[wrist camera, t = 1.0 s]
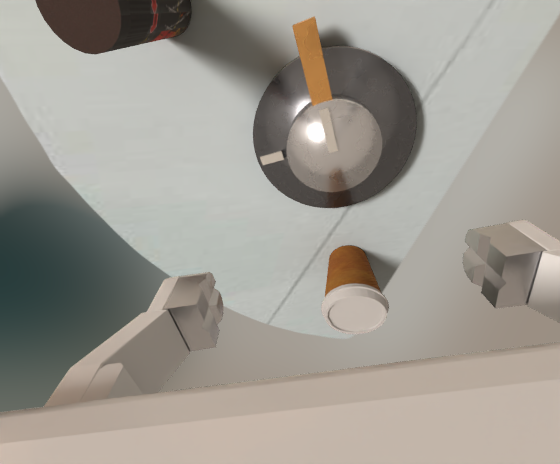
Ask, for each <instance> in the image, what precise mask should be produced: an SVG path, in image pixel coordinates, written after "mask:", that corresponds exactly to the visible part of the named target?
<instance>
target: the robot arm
mask: <svg viewBox="0 0 560 464" xmlns="http://www.w3.org/2000/svg"><path fill="white" fill-rule="evenodd" d="M465 242H466V243H467V245H468V246H469V248H468V249H467V250H466V251H465V252H464V254H463V266H464V270H465V273H466V274H467V276H468V278H469V279H470V280H471V282H472V283H474V284H477V285H479V286H481V287H482V291H481V293H482V294H483V295H484V296H485V297H486V299H487V300H488V301H489V302H490V303H491V304H492V305H493V306H494V308H503V307H512V306H521V305H527V306H528V307H530V308H532V309H534V310H536V311H538V312H539V313H541V314H543V315H546V316H547V317H549V318H551V319H553V320H555V321H557V322H559V323H560V241H559V240H557V239H556V238H554V237H552V236H551V235H549V234H548V233H546V232H544V231H543V230H541V229H540V228H538V227H537V226H535V225H533V224H532V223H530V222H529V221H525V220H518V221H513V222H508V223H503V224H499V225H493V226H488V227H482V228H476V229H470V230H468V232H467V234H466V238H465ZM215 282H216V281H215V279H214V277H213V274H212V273H210V272H205V273H198V274H191V275H184V276H177V277H171V278H167V279H165V280H164V281H163V283H162V285H161V286H160V288H159V290H158V292H157V294H156V296H155V298H154V300H153V301H152V303H151V305H150V307H149V309H148V311H147V312H146V313H142V314H140V315H139V316H138V317H136V318H135V319H134V320H133V321H131V322H130V323H129V324H127V325H126V326H125V327H124V328H122V329H121V330H119V331H118V332H117V333H115V334H114V335H113V336H112V337H111V338H109V339H108V340H106V341H105V342H104V343H102V344H101V345H100V346H99V347H97V348H96V349H95V350H93V351H92V352H91V353H89V354H88V355H87V356H85V357H84V358H83V359H82V360H80V361H79V362H78V363H76V364H75V365H74V366H72V367H71V368H70V369H69V371H68V372H67V374H66V375H65V377H64V378H63V379H62V381H61V382H60V384H59V385H58V387H57V388H56V390H55V391H54V392H53V394H52V395H51V397H50V398H49V400H48V401H47V403H46V404H45V406H44V407H39V408H31V409H23V410H15V411H8V412H0V464H560V342H554V343H546V344H539V345H531V346H523V347H515V348H506V349H498V350H490V351H483V352H475V353H466V354H459V355H450V356H442V357H435V358H427V359H418V360H411V361H402V362H395V363H387V364H379V365H371V366H363V367H355V368H348V369H340V370H332V371H324V372H317V373H308V374H300V375H293V376H285V377H276V378H269V379H261V380H253V381H245V382H237V383H229V384H221V385H214V386H205V387H197V388H190V389H182V390H174V391H166V392H159V391H160V390H161V388H162V387H163V386H164V385H165V383H166V382H167V381H168V380H169V378H170V377H171V376H172V375H173V373H174V372H175V371H176V370H177V369H178V367H179V366H180V365H181V364H182V362H183V361H184V360H185V359H186V357H187V356H188V355H189V354H190V351H196V350H202V349H208V348H214V347H216V344H217V339H218V335H219V331H220V330H219V328H218V326H217V324H218V323H219V322H220V321H221V320H222V317H223V301H222V297H221V294H220V292H219V291H218V290H216V289H215V288H214V286H215Z"/></svg>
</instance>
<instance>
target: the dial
mask: <svg viewBox="0 0 560 464" xmlns="http://www.w3.org/2000/svg"><path fill="white" fill-rule="evenodd" d="M292 27H293V31H294V35H295V39H296V43H297V47H298V51H299V54H300V58H301V62H302V66H303V70H304V74H305V78H306V82H307V86H308V90H309V94H310V98H311V102H309V103H308V104H307V105H305V106H304V107H303V108H302V109H301V110H300V111H299V112H298V114H297V115H296V117H295V118H294V120H293V122H292V124H291V127H290V130H289V135H288V140H287V151H286V152H287V159H288V163H289V165H290V168H291V170H292V171H293V173H294V174H295V176H296V177H297V178H298V179H299V180H300V181H301V182H302V183H304V184H305V185H307V186H308V187H310V188H313V189H315V190H319V191H324V192H338V191H343V190H347V189H350V188H352V187H354V186H356V185H358V184H359V183H361V182H362V181H364V180H365V179H366V178H367V177H368V176H369V175H370V174H371V173H372V171H373V170H374V168H375V167H376V165H377V163H378V161H379V158H380V156H381V151H382V135H381V131H380V128H379V126H378V124H377V122H376V120H375V118H374V116H373V115H372V113H371V111H370V110H369V109H368V108H367V107H366V106H365V105H364V104H363V103H362V102H360V101H359V100H357V99H355V98H353V97H350V96H347V95H342V94H331V90H330V86H329V81H328V76H327V72H326V67H325V62H324V58H323V53H322V48H321V43H320V39H319V34H318V29H317V25H316V20H315V16H314V17H312V18H309V19H306V20H304V21H301V22H299V23H296V24H294V25H293V26H292Z"/></svg>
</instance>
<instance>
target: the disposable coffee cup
mask: <svg viewBox="0 0 560 464" xmlns="http://www.w3.org/2000/svg"><path fill="white" fill-rule="evenodd" d="M388 308H389V305H388V301H387V300H386V298H385V296H384V295H383V294H382V293H381V291H380V288H379V286H378V283H377V281H376V279H375V276H374V274H373V271H372V269H371V266H370V264H369V262H368V259H367V257H366V254H365V252H364V251H363V250H362V249H360V248H358V247H356V246H342V247H339V248H337V249H335V250H334V251H333V252H332V253H331V255H330V258H329V266H328V274H327V283H326V291H325V298H324V300H323V302H322V305H321V311H322V314H323V316H324V318H325V319H326V322H327V323H328V325H329V326H330V327H332V328H333V329H335V330H337V331H340V332H342V333H347V334H363V333H368V332H371V331H373V330H375V329H377V328H379V327H380V326H381V325H382V324H383V323H384V322H385V320H386V317H387V313H388Z"/></svg>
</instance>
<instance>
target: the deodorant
mask: <svg viewBox="0 0 560 464" xmlns="http://www.w3.org/2000/svg"><path fill="white" fill-rule="evenodd" d="M36 3H37V6H38V8H39V10H40V12H41V14H42V16H43V18H44V20H45V21H46V22H47V24H48V25H49V26H50V28H51V29H52V30H53V32H54V33H55V34H56V35H57V36H58V37H59V38H60V39H61V40H62V41H64V42H65V43H66V44H68V45H69V46H71V47H72V48H74V49H76V50H79V51H81V52H84V53H88V54H99V53H104V52H108V51H113V50H117V49H121V48H126V47H130V46H135V45H139V44H144V43H148V42H152V41H157V40H161V39H166V38H170V37H175V36H178V35H180V34H181V33H183V32H184V31H185V29H186V28H187V27H188V24H189V22H190V19H191V2H190V0H36Z"/></svg>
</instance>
